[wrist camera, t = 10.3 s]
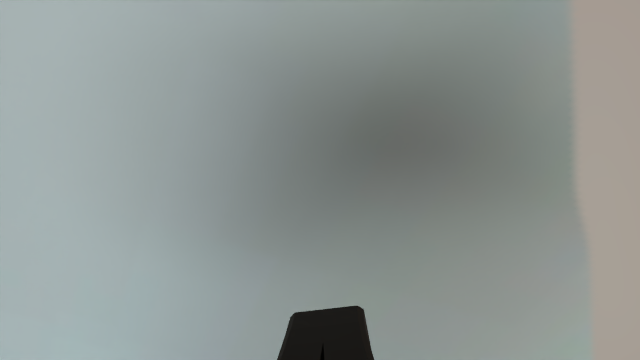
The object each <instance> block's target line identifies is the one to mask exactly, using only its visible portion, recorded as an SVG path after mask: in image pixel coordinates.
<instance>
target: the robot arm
mask: <svg viewBox="0 0 640 360" xmlns="http://www.w3.org/2000/svg"><path fill="white" fill-rule="evenodd" d="M277 360H374V357H373V354H372V351H371V346H370V341H369V335H368V330H367V325H366V319H365V314H364V309H362V308H360V307H359V306H349V307H340V308H332V309H323V310H314V311H306V312H297V313H294V314H293V315H292V316H291V317H290V321H289V324H288V328H287V331H286V335H285V338H284V341H283V344H282V347H281V350H280V353H279V356H278V358H277Z"/></svg>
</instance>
